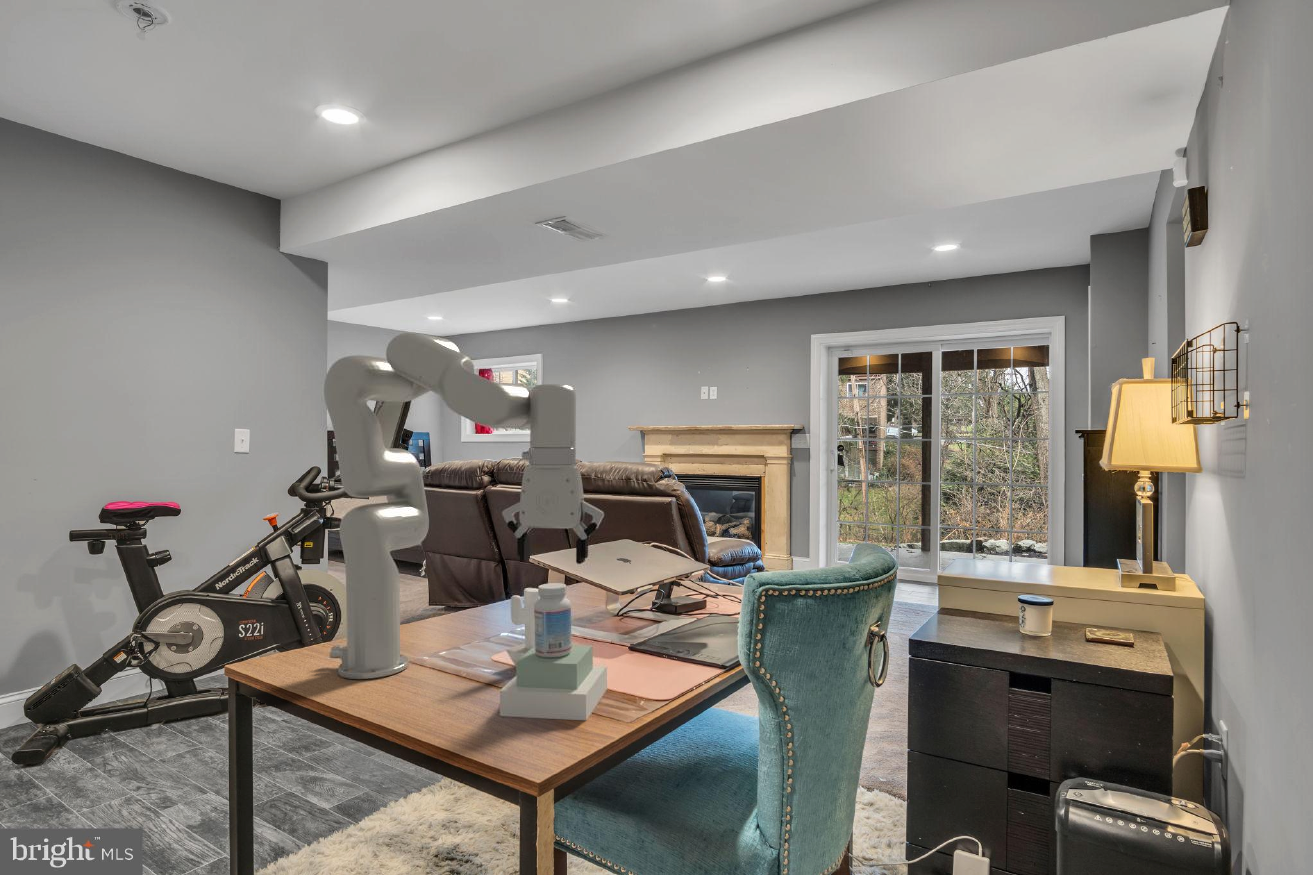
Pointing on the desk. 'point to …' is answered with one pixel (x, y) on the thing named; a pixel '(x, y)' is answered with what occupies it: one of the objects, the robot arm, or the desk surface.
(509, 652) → the figurine
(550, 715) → the base block
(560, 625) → the pill bottle
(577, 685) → the top block
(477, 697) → the desk surface
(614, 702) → the desk surface
